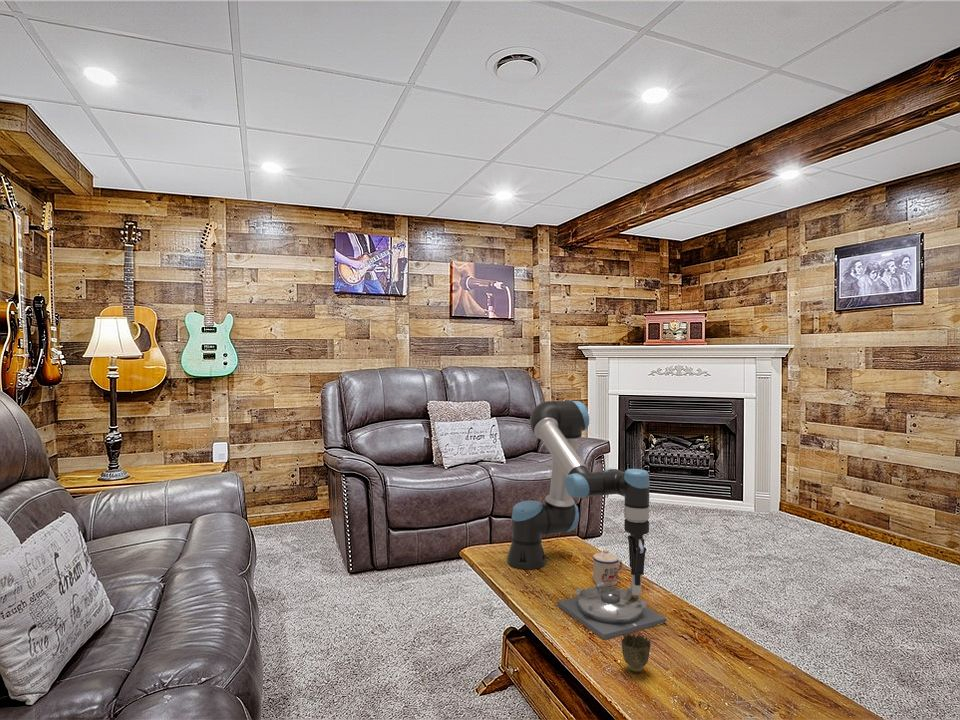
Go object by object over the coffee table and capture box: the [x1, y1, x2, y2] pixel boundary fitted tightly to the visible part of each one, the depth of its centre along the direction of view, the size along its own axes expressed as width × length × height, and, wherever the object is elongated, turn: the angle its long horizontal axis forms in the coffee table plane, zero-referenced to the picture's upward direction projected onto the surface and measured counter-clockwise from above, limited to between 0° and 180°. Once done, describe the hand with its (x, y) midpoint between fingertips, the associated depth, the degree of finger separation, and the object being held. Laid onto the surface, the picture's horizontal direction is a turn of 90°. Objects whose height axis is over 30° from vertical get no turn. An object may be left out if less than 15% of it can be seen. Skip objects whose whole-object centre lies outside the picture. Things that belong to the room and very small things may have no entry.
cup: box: [620, 633, 651, 674], centre depth 148 cm, size 8×7×8 cm
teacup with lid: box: [592, 548, 624, 587], centre depth 205 cm, size 12×9×12 cm
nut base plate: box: [556, 596, 667, 641], centre depth 179 cm, size 24×24×2 cm
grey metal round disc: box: [574, 581, 648, 624], centre depth 179 cm, size 20×22×8 cm
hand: (636, 594), depth 178 cm, fingers closed
